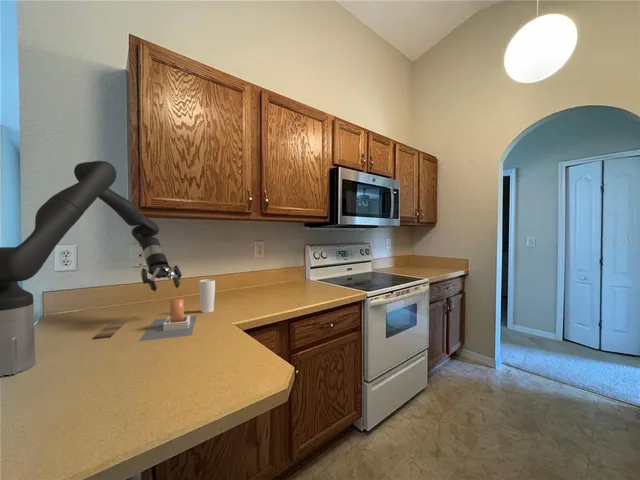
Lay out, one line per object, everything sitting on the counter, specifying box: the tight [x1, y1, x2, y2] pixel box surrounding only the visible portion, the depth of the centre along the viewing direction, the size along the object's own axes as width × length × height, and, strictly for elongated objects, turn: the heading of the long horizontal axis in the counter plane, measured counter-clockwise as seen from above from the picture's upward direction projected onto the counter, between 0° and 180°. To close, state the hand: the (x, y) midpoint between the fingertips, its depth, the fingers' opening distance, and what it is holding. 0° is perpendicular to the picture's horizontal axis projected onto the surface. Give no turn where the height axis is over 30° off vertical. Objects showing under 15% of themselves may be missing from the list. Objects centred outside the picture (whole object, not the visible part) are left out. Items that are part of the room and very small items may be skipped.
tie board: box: [138, 315, 197, 342], centre depth 107 cm, size 24×16×4 cm, turn 20°
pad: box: [93, 322, 126, 340], centre depth 106 cm, size 14×14×1 cm
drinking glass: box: [198, 278, 216, 314], centre depth 128 cm, size 7×7×15 cm
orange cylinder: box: [169, 298, 185, 323], centre depth 107 cm, size 5×5×10 cm
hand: (166, 288), depth 113 cm, fingers open, 8 cm apart
